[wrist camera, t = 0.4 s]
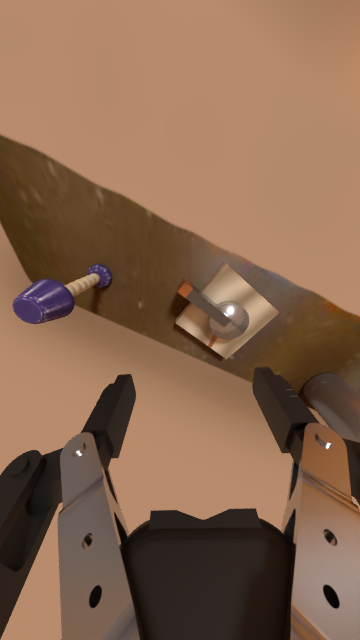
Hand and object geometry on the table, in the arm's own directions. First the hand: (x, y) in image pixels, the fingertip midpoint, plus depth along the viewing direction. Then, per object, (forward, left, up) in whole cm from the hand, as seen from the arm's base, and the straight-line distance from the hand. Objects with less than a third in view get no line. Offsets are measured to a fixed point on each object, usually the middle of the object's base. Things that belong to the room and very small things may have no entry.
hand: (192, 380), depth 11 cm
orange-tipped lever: (-5, -1, -21) cm, 22 cm away
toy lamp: (+14, +8, -23) cm, 28 cm away
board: (-9, -1, -23) cm, 25 cm away
